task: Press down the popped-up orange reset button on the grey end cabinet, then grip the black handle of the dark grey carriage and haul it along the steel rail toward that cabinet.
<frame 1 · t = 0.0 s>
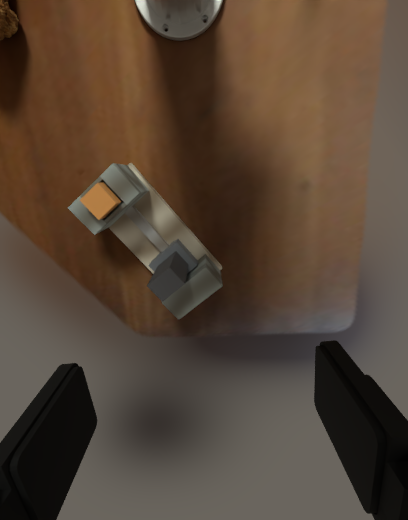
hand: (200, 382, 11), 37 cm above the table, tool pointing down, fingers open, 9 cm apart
carriage: (171, 269, 41), point 8 cm above the table, slide at 0.0 cm
reset button: (101, 201, 36), point 9 cm above the table, slide at 0.0 cm
rail bench: (158, 236, 47), on the table
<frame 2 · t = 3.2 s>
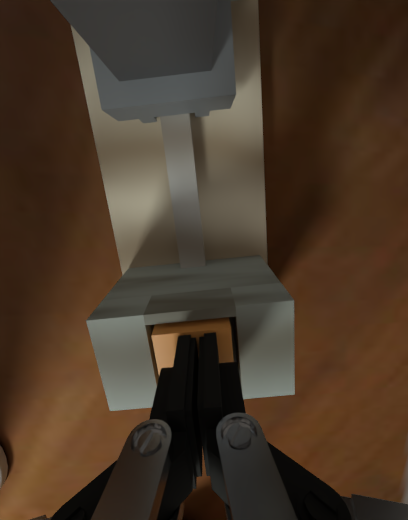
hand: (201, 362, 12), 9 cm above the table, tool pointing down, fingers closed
carriage: (150, 1, 9), point 8 cm above the table, slide at 0.0 cm
reset button: (196, 349, 13), point 8 cm above the table, slide at 1.5 cm, touching gripper
rail bench: (183, 162, 18), on the table
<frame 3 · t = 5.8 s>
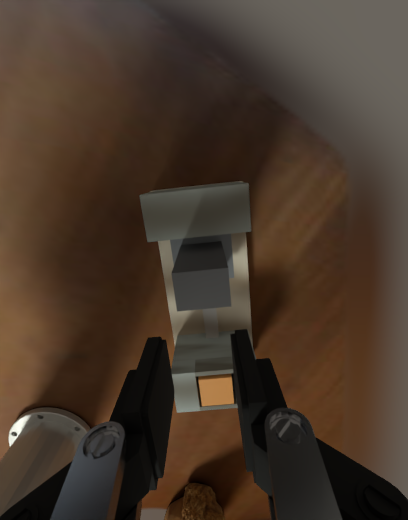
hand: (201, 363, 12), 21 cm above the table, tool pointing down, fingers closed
stuffed squirrel: (198, 498, 46), on the table
carriage: (202, 264, 25), point 8 cm above the table, slide at 0.0 cm
reset button: (216, 384, 29), point 8 cm above the table, slide at 1.7 cm
rail bench: (206, 280, 33), on the table
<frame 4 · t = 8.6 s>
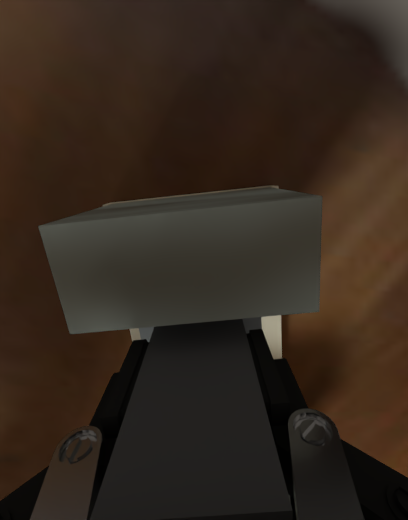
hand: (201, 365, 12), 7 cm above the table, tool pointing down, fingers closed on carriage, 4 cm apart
carriage: (201, 370, 11), point 8 cm above the table, slide at 0.0 cm, touching gripper
rail bench: (209, 351, 20), on the table
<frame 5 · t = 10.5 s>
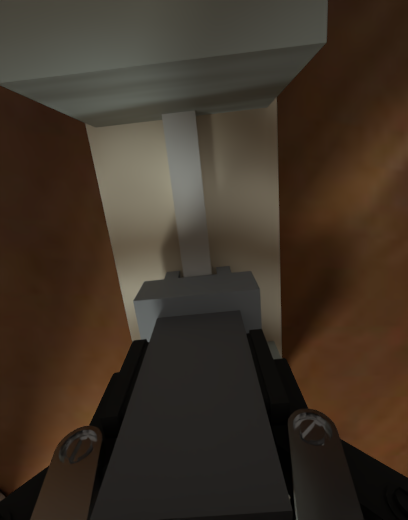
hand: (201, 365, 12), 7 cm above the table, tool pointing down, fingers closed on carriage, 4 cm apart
carriage: (201, 370, 11), point 8 cm above the table, slide at 8.0 cm, touching gripper
rail bench: (197, 248, 18), on the table
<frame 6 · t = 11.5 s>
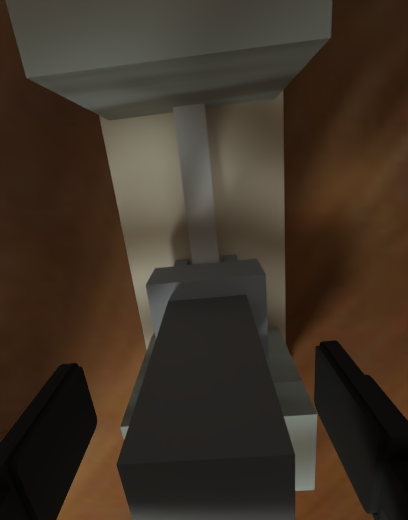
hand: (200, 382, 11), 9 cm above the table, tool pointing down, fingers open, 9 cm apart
carriage: (210, 349, 12), point 8 cm above the table, slide at 8.0 cm
rail bench: (204, 238, 18), on the table
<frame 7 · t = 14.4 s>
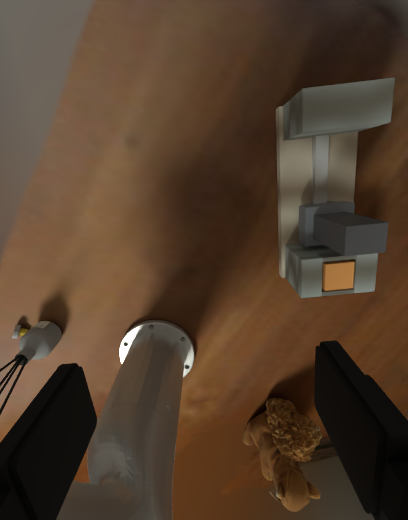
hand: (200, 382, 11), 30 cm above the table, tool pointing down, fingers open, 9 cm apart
reed diffuser: (48, 334, 45), on the table
stuffed squirrel: (274, 415, 50), on the table
carriage: (337, 228, 32), point 8 cm above the table, slide at 8.0 cm
reset button: (335, 273, 33), point 8 cm above the table, slide at 1.7 cm
rail bench: (313, 195, 38), on the table
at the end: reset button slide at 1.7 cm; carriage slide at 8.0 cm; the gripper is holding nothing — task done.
